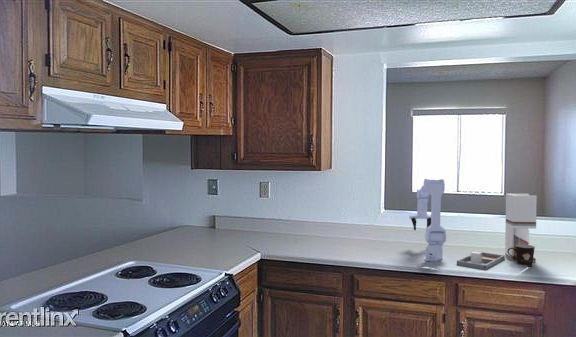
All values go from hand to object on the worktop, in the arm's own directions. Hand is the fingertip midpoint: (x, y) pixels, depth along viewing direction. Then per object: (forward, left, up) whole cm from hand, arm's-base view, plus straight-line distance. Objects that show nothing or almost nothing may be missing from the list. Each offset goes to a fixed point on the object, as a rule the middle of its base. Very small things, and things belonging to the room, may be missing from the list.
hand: (421, 229), depth 264 cm
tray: (-16, -41, -11) cm, 46 cm away
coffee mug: (-5, -57, -11) cm, 59 cm away
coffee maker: (+7, -53, -11) cm, 55 cm away
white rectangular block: (-23, -41, -10) cm, 48 cm away
